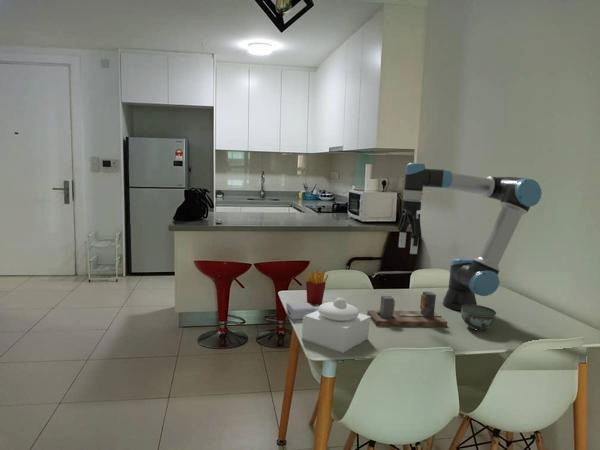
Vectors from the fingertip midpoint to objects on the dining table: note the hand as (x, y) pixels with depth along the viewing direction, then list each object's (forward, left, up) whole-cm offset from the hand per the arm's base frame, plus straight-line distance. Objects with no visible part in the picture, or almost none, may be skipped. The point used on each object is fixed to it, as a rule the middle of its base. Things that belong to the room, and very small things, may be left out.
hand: (407, 250), depth 195 cm
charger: (+42, +1, -29) cm, 51 cm away
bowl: (-27, +14, -29) cm, 42 cm away
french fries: (+35, -17, -29) cm, 48 cm away
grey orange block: (+9, +6, -29) cm, 31 cm away
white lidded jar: (+35, +26, -29) cm, 52 cm away
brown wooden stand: (0, +6, -29) cm, 29 cm away
